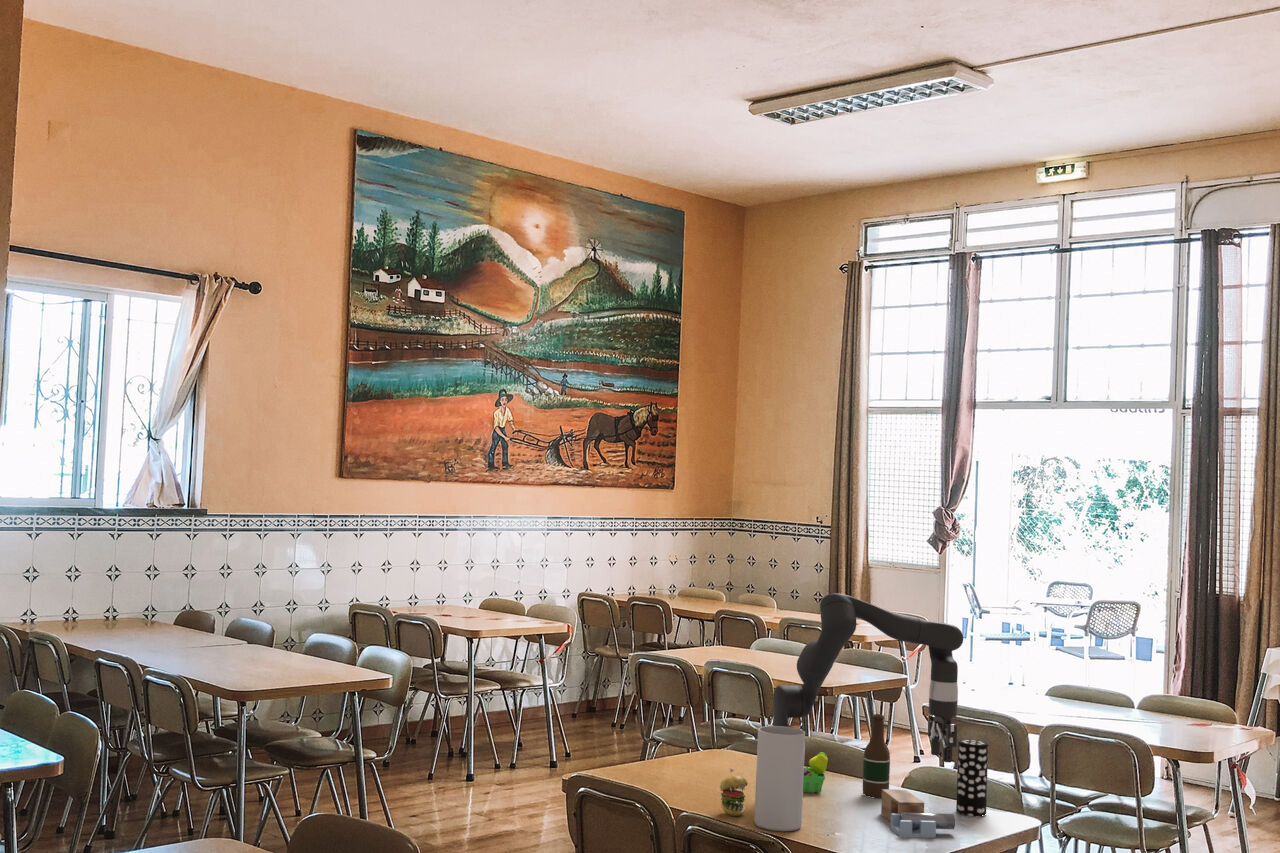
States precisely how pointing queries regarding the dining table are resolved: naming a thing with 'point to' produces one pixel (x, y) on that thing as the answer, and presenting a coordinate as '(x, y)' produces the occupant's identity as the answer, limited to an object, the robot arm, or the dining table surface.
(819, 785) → the fruit basket
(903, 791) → the beam
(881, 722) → the beer bottle
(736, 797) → the hamburger
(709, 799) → the dining table surface
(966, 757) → the spotted tube
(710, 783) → the dining table surface
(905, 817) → the axle
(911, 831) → the cradle
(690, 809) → the dining table surface
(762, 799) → the cylinder vase
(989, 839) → the dining table surface
